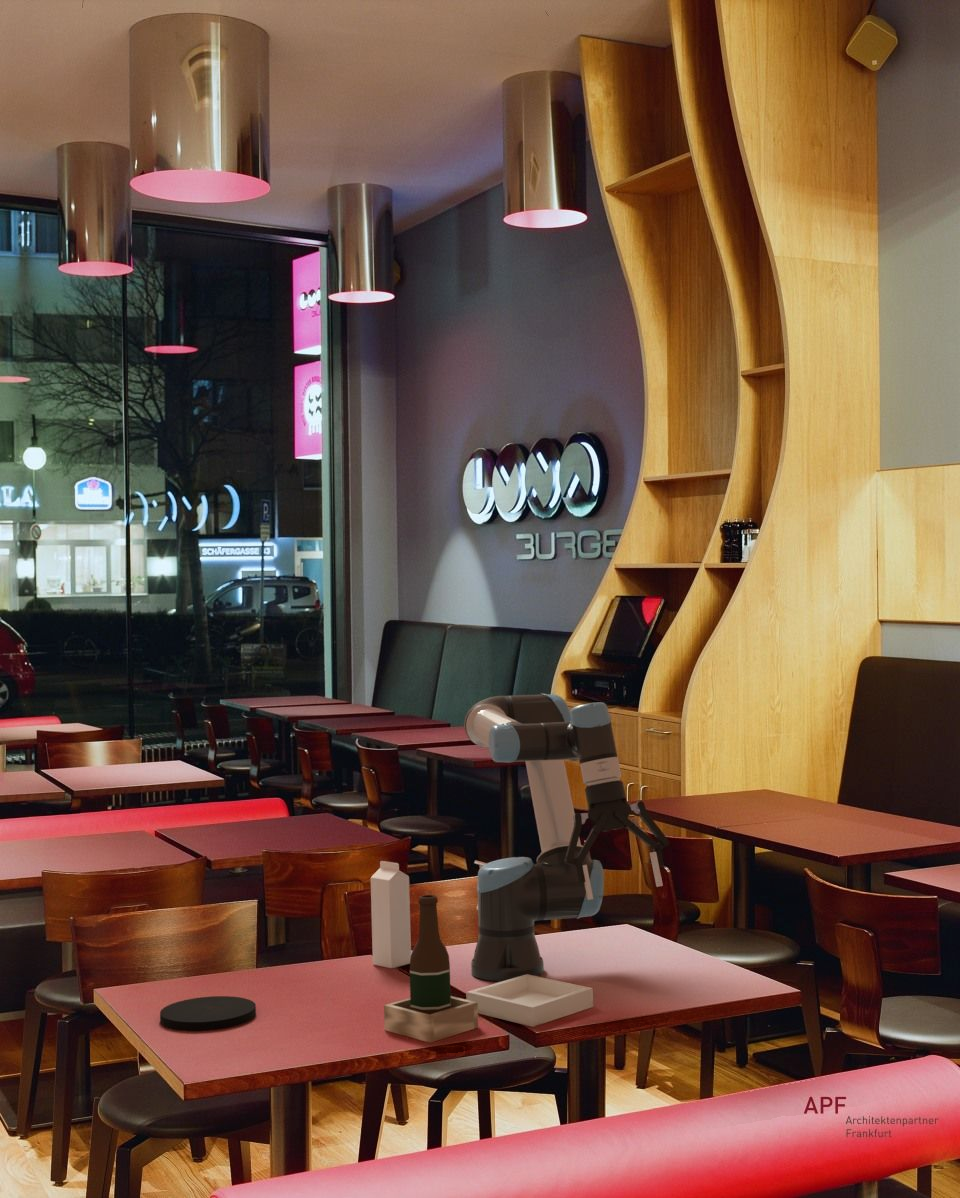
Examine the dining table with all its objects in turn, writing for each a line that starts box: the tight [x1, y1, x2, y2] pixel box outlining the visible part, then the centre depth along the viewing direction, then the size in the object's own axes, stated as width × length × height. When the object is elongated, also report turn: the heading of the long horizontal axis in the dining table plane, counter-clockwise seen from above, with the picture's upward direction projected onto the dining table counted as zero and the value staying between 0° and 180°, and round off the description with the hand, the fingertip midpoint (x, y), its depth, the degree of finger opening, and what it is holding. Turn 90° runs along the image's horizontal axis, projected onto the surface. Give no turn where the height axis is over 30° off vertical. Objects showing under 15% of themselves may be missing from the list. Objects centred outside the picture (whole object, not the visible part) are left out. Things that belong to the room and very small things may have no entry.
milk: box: [370, 860, 412, 969], centre depth 304 cm, size 6×6×22 cm
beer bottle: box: [409, 894, 452, 1015], centre depth 255 cm, size 8×8×24 cm
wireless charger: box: [159, 995, 257, 1032], centre depth 266 cm, size 18×18×2 cm
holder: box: [383, 995, 479, 1043], centre depth 255 cm, size 12×12×4 cm
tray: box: [465, 974, 594, 1028], centre depth 266 cm, size 17×17×4 cm
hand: (625, 892), depth 268 cm, fingers open, 13 cm apart
